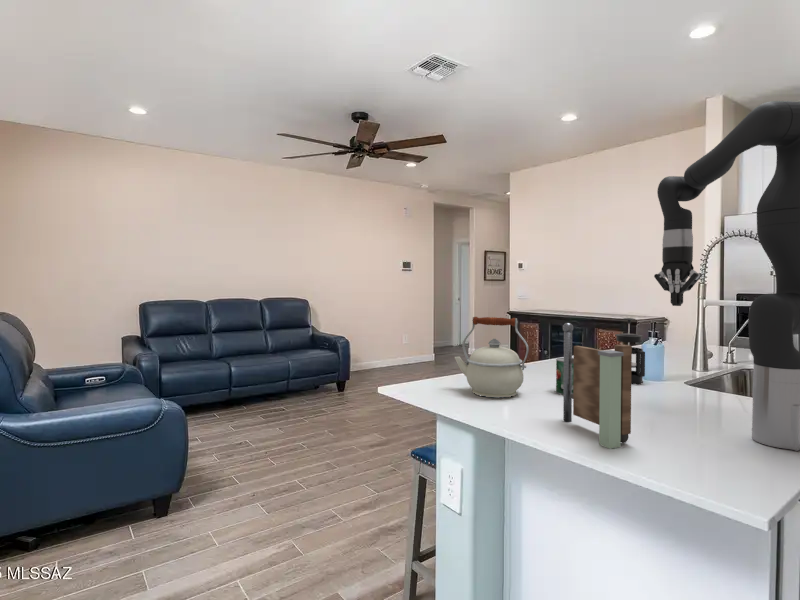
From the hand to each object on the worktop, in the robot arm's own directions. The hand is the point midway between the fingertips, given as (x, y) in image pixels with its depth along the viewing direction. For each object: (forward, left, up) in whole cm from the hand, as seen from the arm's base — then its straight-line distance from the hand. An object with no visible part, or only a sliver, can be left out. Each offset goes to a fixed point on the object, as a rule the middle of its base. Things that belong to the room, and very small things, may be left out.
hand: (676, 305), depth 132 cm
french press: (+26, -16, -29) cm, 42 cm away
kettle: (+38, +38, -29) cm, 61 cm away
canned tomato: (+25, +16, -29) cm, 42 cm away
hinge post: (+4, +40, -29) cm, 50 cm away
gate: (-6, +42, -29) cm, 51 cm away
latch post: (-13, +46, -29) cm, 56 cm away
